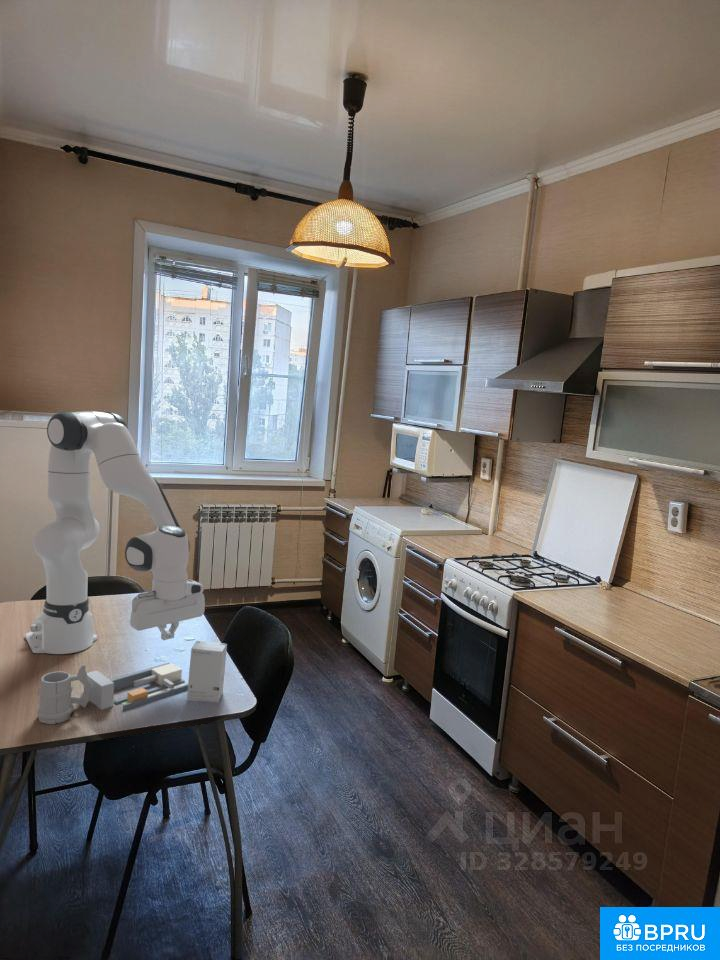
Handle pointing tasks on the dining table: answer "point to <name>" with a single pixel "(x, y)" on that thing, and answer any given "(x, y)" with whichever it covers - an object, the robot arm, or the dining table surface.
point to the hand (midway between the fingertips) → (167, 638)
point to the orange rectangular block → (137, 694)
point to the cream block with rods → (162, 676)
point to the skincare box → (206, 671)
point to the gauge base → (105, 687)
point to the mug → (61, 695)
